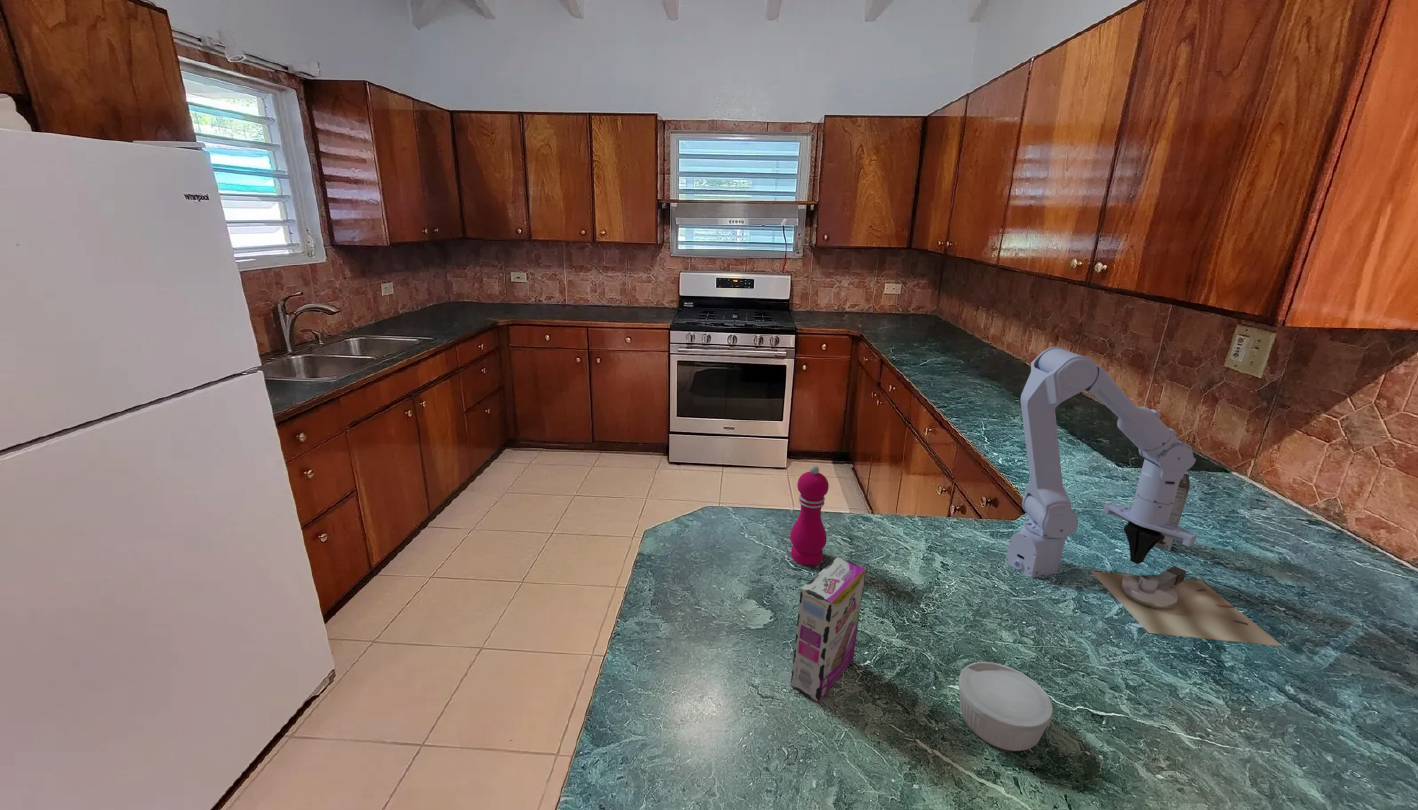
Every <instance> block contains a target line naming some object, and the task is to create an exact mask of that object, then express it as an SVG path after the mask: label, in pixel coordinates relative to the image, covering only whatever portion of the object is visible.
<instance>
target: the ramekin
mask: <svg viewBox="0 0 1418 810" xmlns="http://www.w3.org/2000/svg"><path fill="white" fill-rule="evenodd" d="M960 671H961V672H960V673H959V677H958V688H959V711H960V713H961V717H962V719H963V721H964V722H965V723H966V725H967V726H968V728H969V729H970V730H971V731H972V732H973V733H974V734H975V735H976V736H978V737H979V738H980V739H982V740H983V741H984V742H986V743H987V744H988V745H989V744H990V745H991V746H994V747H996V748H999V749H1001V750H1005V751H1011V752H1020V751H1027V750H1029V749H1032V748H1034V747H1035V746H1036V745H1037V744H1038V743H1039V741H1040V740H1041V738H1042V737H1043V734H1044V732H1045V731H1046V728H1047V727H1048V726H1049V725H1050V724H1051V722H1052V720H1053V715H1054V707H1053V702H1052V700H1051V698H1050V696H1049V695H1048V693H1047V692H1046V691H1045V690H1044V689H1043V688H1042V687H1041V686H1040V685H1039V684H1038V683H1037V682H1036V681H1035V680H1033V678H1031V677H1030V676H1028V675H1026V674H1024V673H1022V672H1021V671H1018V670H1017V669H1015V668H1013V667H1010V666H1007V665H1004V664H1000V663H996V662H991V661H990V662H989V661H977V662H972V663H970V664H967V665H966V666H964V667H963V669H962V670H960Z"/></svg>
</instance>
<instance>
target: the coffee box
mask: <svg viewBox="0 0 1418 810" xmlns="http://www.w3.org/2000/svg"><path fill="white" fill-rule="evenodd" d="M1190 488H1191V485H1190V476H1189V473H1186V472H1185V473H1184V476H1183V479H1181V480H1180V482H1179V486H1178V489H1177V492H1176V496H1175V499H1174V503H1173V506H1172V510H1171V513H1170V517H1169V520H1168V521H1169V522H1171V523H1173V524H1175V525H1177V526H1179V524H1180V522H1181V521H1180V520H1181V517H1182V514H1183V511H1184V509H1185V505H1186V501H1187V498H1188V495H1189V491H1190ZM1174 541H1175V540H1174V539H1172V538H1169V537H1167V536H1165V537H1163V538H1162V539H1161V540H1160V541H1159V542H1158V543H1156V544H1155V546H1154V548H1156V549H1160V550H1163V551H1168V552H1170V551H1171V550H1172V546H1173V544H1174Z"/></svg>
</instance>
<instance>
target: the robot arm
mask: <svg viewBox="0 0 1418 810" xmlns="http://www.w3.org/2000/svg"><path fill="white" fill-rule="evenodd" d="M1112 378H1113V377H1111V376H1110V375H1109V374H1108V372H1106V369H1104V368H1103V367H1101V366H1099V365H1098V364H1096V362H1095V360H1093V359H1092V358H1091V357H1089V356H1086V355H1080V354H1078V353H1075V352H1072V351H1069V350H1067V349H1066V348H1064V347H1061V346H1052V347H1048V348H1046V349H1045V350H1043V351H1042V352H1040V353H1039V355H1037V356H1036V358H1034V360H1032V361H1031V363H1030V374H1029V376H1028V378H1027V380H1026V382H1025V385H1024V388H1023V390H1022V391H1021V395H1020V399H1019V400H1020V409H1021V416H1022V425H1023V433H1024V441H1025V449H1026V456H1027V457H1026V458H1027V466H1028V476H1029V482H1028V483H1027V484H1026V485H1025V486H1024V489H1025V493H1024V496H1023V498H1022V501H1021V502H1022V503H1021V505H1022V507H1021V508H1022V509H1023V511H1024V512H1025V513H1026V515H1025V520H1024V524H1023V526H1022V527H1021V529H1020V530H1019V531H1018V532H1016V533H1013V535H1011V536H1010V538H1009V542H1008V546H1007V551H1006V557H1005V561H1004V562H1005V564H1008V565H1010V566H1011V567H1013V568H1014V569H1016V570H1018V571H1019V572H1021V573H1023V574H1024V575H1026V576H1027V577H1030V578H1037V577H1040V576H1046V575H1047V576H1048V575H1055V574H1057V573H1058V571H1059V568H1060V564H1061V560H1062V556H1063V552H1064V548H1065V544H1066V540H1067V538H1068V537H1069V536H1071V535H1073V533H1075V531H1076V530H1077V528H1078V526H1079V518H1078V516H1077V514H1076V513H1075V511H1074V510H1073V508H1072V503H1071V502H1072V501H1071V500H1070V497H1069V495H1068V494H1067V492H1066V490H1065V487H1064V484H1063V473H1062V465H1061V464H1062V463H1061V454H1060V445H1059V436H1058V425H1057V416H1056V408H1057V407H1058V406H1059V405H1060V404H1061V403H1063V402H1065V401H1066V400H1068V399H1070V398H1072V397H1074V396H1075V395H1077V394H1080V393H1081V392H1083V391H1085V392H1086V393H1087V392H1088V393H1091V394H1093V395H1094V396H1095V398H1097V400H1099V401H1100V402H1101V403H1102V404H1103V405H1104V406H1106V407H1107V409H1108V410H1110V411H1111V412H1112V413H1113V414H1114V415H1115V416H1116V417H1117V418H1118V419H1117V422H1116V426H1117V429H1119V431H1121V432H1122V433H1123V434H1124V435H1125V437H1127V438H1128V439H1129V441H1130V442H1132V443H1133V445H1134V446H1136V447H1137V448H1138V453H1139V456H1142V458H1144V461H1143V463H1142V467H1141V470H1140V475H1139V480H1138V483H1137V486H1136V489H1135V490H1136V491H1135V494H1134V497H1133V500H1132V505H1131V508H1130V507H1128V506H1123V505H1120V504H1116V503H1113V502H1111V501H1109V502H1107V503H1105V504H1104V506H1103V508H1102V513H1103V514H1105V515H1112V516H1114V517H1116V518H1118V519H1121V520H1123V521H1126V522H1127V523H1126V525H1124V526H1123V531H1124V533H1125V535H1126V538H1127V541H1128V547H1129V557H1130V558H1129V560H1130V562H1133V564H1136V565H1139V564H1141V563H1143V562H1144V561H1145V559H1146V557H1147V555H1148V554H1149V552H1150V551H1151V550H1153V547H1154V546H1155V544H1156V543H1158V542H1159V541H1160V540H1161V539H1162V538H1163V537H1165V536H1167V537H1169V538H1172V539H1174V541H1178V542H1180V543H1182V545H1183V546H1186V547H1189V548H1190V547H1192V546H1194V545H1195V543H1196V539H1197V536H1198V535H1197V534H1195V533H1193V532H1191V531H1189V530H1186V529H1184V528H1183V527H1180V526H1179V525H1178V526H1177V525H1175V524H1173V523H1171V522H1169V521H1168V520H1169V517H1170V513H1171V510H1172V506H1173V503H1174V499H1175V496H1176V492H1177V489H1178V486H1179V482H1180V480H1181V479H1183V476H1184V473H1185V474H1186V472H1187V471H1188V470H1189V469H1191V468H1192V467H1193V466H1194V465H1195V463H1196V460H1197V458H1195V457H1194V453H1193V452H1194V451H1193V448H1192V447H1191V445H1189V444H1188V443H1187V442H1186V443H1185V442H1184V441H1182V440H1179V439H1178V438H1177V435H1178V432H1177V431H1176V430H1175V429H1173V428H1169V427H1168V426H1167V425H1166V424H1165V423H1164V422H1163V421H1162V419H1160V417H1161V416H1162V415H1161V414H1160V412H1159V411H1157V410H1155V409H1153V408H1151V409H1150V408H1148V407H1146V406H1136V405H1135V403H1134V402H1133V401H1132V400H1131V399H1130V397H1129V396H1128V395H1127V394H1126V393H1125V392H1124V391H1123V389H1121V387H1120V386H1119V385H1118V384H1117V383H1116V382H1115V381H1114V379H1112ZM1154 548H1155V547H1154Z"/></svg>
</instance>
